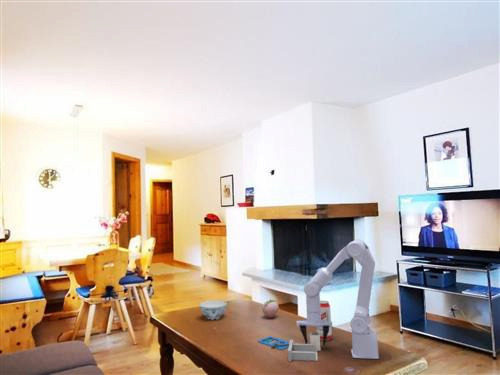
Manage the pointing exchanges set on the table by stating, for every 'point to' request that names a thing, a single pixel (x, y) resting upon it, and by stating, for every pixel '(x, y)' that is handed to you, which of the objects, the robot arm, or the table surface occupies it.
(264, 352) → the table surface
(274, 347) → the dark gray rod
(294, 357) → the dock
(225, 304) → the chinaware
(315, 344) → the block
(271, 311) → the decorative fruit
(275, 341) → the handheld gaming device
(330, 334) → the beer can
